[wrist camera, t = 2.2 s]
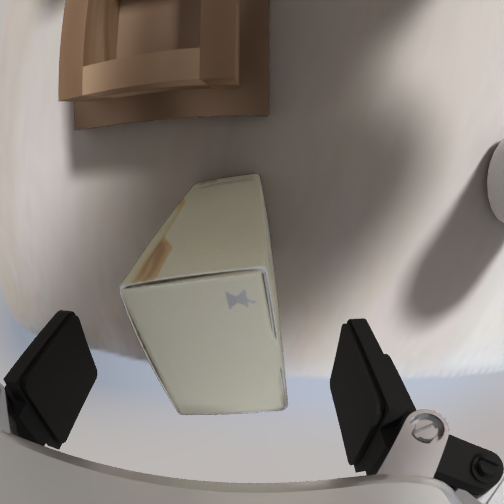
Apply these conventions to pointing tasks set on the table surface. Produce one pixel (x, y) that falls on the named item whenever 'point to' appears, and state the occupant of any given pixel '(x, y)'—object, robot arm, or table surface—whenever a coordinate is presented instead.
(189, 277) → the skincare box
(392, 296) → the table surface
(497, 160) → the can
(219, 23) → the slotted stand
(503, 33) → the table surface
